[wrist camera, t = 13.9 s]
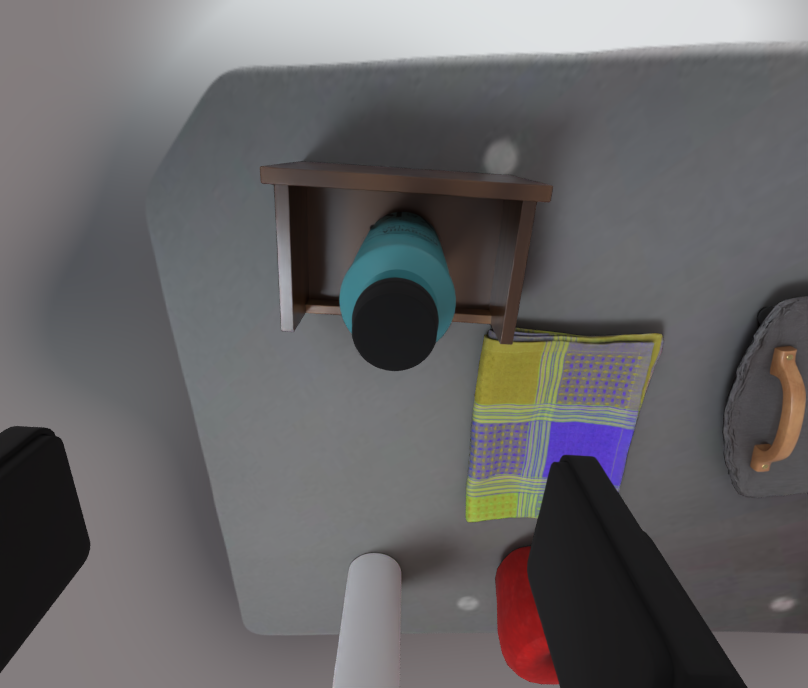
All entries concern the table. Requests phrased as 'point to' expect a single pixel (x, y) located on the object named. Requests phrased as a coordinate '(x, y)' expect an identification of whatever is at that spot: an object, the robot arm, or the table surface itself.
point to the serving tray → (771, 406)
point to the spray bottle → (370, 625)
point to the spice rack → (415, 192)
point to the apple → (521, 622)
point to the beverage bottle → (398, 292)
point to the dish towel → (551, 412)
